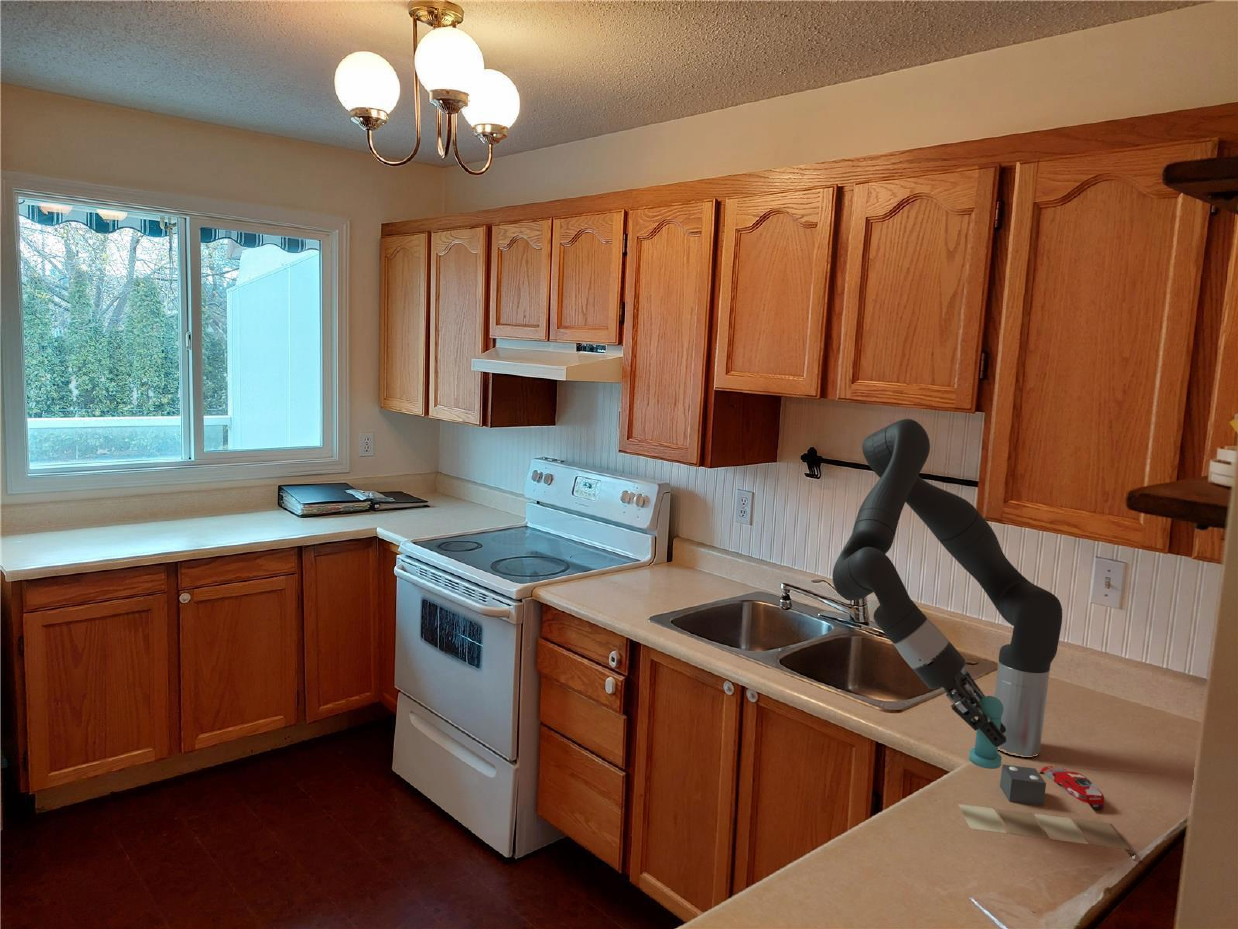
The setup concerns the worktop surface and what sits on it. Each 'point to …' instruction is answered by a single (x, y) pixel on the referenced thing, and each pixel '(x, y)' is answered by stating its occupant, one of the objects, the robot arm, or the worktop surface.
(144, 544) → the worktop surface
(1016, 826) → the track board
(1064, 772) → the race car
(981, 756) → the pawn
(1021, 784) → the die
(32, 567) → the worktop surface
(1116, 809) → the worktop surface
